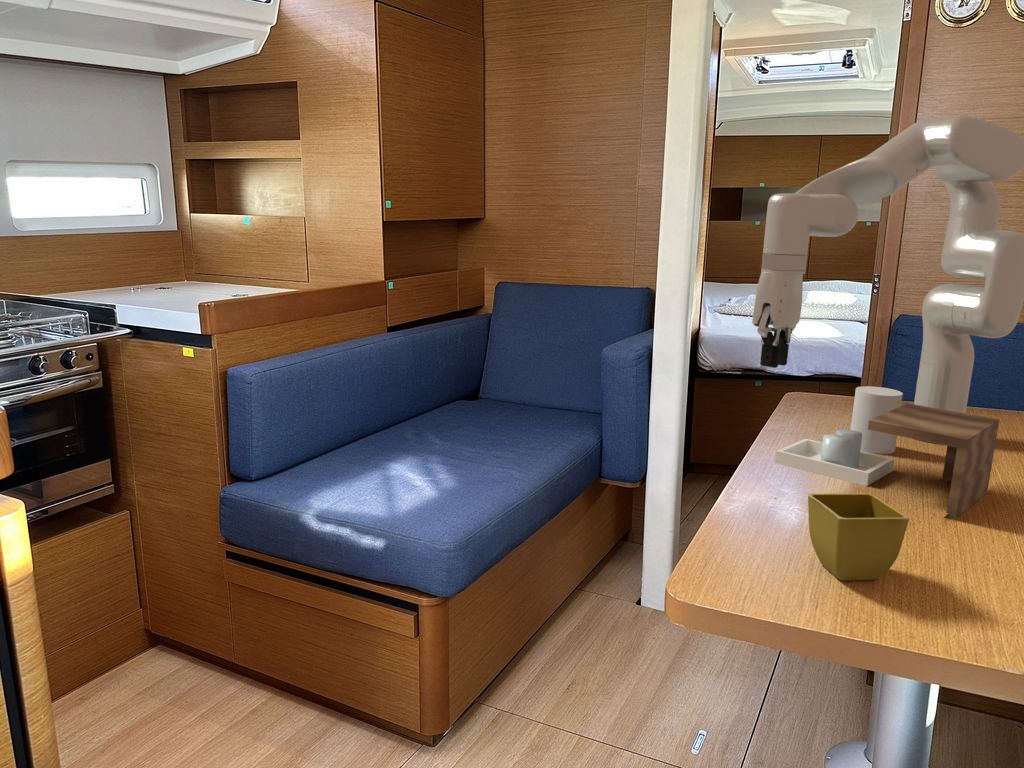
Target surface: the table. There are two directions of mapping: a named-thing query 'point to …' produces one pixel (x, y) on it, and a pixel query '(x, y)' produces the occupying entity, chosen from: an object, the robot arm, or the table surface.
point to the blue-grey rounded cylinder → (835, 449)
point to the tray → (809, 459)
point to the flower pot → (855, 534)
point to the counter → (949, 447)
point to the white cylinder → (870, 406)
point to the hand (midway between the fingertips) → (773, 364)
